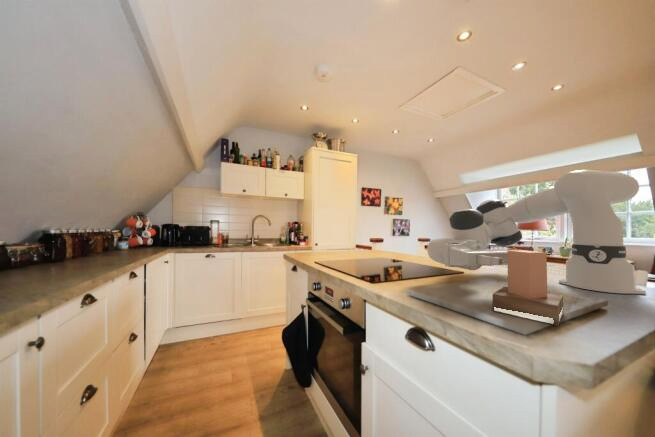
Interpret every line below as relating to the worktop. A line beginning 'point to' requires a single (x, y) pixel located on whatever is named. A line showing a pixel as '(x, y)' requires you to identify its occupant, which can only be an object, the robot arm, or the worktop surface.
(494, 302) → the walnut base
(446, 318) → the worktop surface
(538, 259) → the terracotta block
